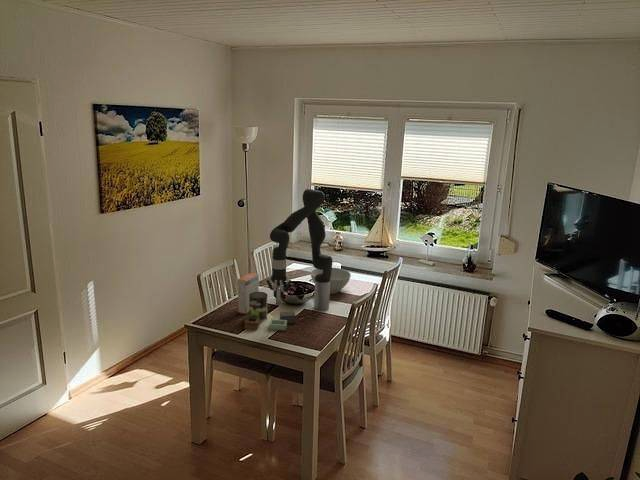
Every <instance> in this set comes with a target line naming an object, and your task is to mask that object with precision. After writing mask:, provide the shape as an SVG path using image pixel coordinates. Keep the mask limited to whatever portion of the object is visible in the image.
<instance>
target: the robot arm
mask: <svg viewBox="0 0 640 480" xmlns="http://www.w3.org/2000/svg"><path fill="white" fill-rule="evenodd" d="M325 198H326V197H325V194H324V192H323V191H321V190H317V189H312V188H307V189H305V190H304V191H303V193H302V202H303V203H302V204H303V207H301V208H300V209H297V210H295V211H294V212H292V213H291V214H290V215H289V216H288V217H286V219H285V220H284V221H283V222H282V223H280V224H279V225H277V226H275V227H274V228H273V229H272V230H271V231H270V233H269V239H270V241H272V243H276V244H278V245H277V246H275V247H273V249H272V260H271V277H270V278H267V279H266V283H267V285H268V287H269V289H270V291H273V297H274V299H276V288H278V286H279V287H280V288H281V299H283V298H284V296H285V292H286V291H287V290H288V289H289V287H290V285H291V283H292V280H291V279H288V278H287V249H288V246H289V243H290V234H289V233H292V232H294V231H295V230H296V229H297V228H298V227H299V226H300V224H301V223H302V222H303V221H304V220H305V219H307V225H308V232H309V238H310V239H309V240H310V244H311V258H312V259H311V260H312V265H313V266H312V267H313V268H315V269H320V270H323V273H322V274H317V275H316V276H315V284H314V297H313V299H314V301H313V307H314V309H316V310H319V311H325V310H328V309H329V308H330V295H331V294H330V278H331V272H332V268H333V257H332V256H330V255H328V254H323V253H322V252H321V246H322V244H323V243H324V241H325V239H326V228H325V223H324V222H323V220H322V218H321V217H320V215H319V213H318V212H317V210H318V209H319V208H320V207H321V206H322V205H323V203H324V201H325ZM272 283H273V285H274V286H273V285H272ZM285 283H286V285H284V284H285Z"/></svg>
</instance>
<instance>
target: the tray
mask: <svg viewBox="0 0 640 480" xmlns="http://www.w3.org/2000/svg"><path fill="white" fill-rule="evenodd" d="M287 327H288V323H287V320H280V319H275V318H273V319H270V322H269V323H268V330H269V331H270V330H271V331H286V329H287Z"/></svg>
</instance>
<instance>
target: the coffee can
mask: <svg viewBox="0 0 640 480" xmlns="http://www.w3.org/2000/svg"><path fill="white" fill-rule="evenodd" d="M268 295H269V294H268V293H267V292H264V291H259V292H253V293H250V294H249V313H248V315H249V316H248V317H257V318H260V322H263V321H266V320H267V319H268Z"/></svg>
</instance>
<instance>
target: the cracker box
mask: <svg viewBox="0 0 640 480" xmlns="http://www.w3.org/2000/svg"><path fill="white" fill-rule="evenodd" d="M259 278H260V277H259V273H254V272H250V273H247V274H246V275H244V276H241V277H239V278H237V306H238V307H237V309H238V313H239V314H244V315H248V314H249V294H250V293H253V292H260V290H259V285H260V284H259V281H260V280H259Z"/></svg>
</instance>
